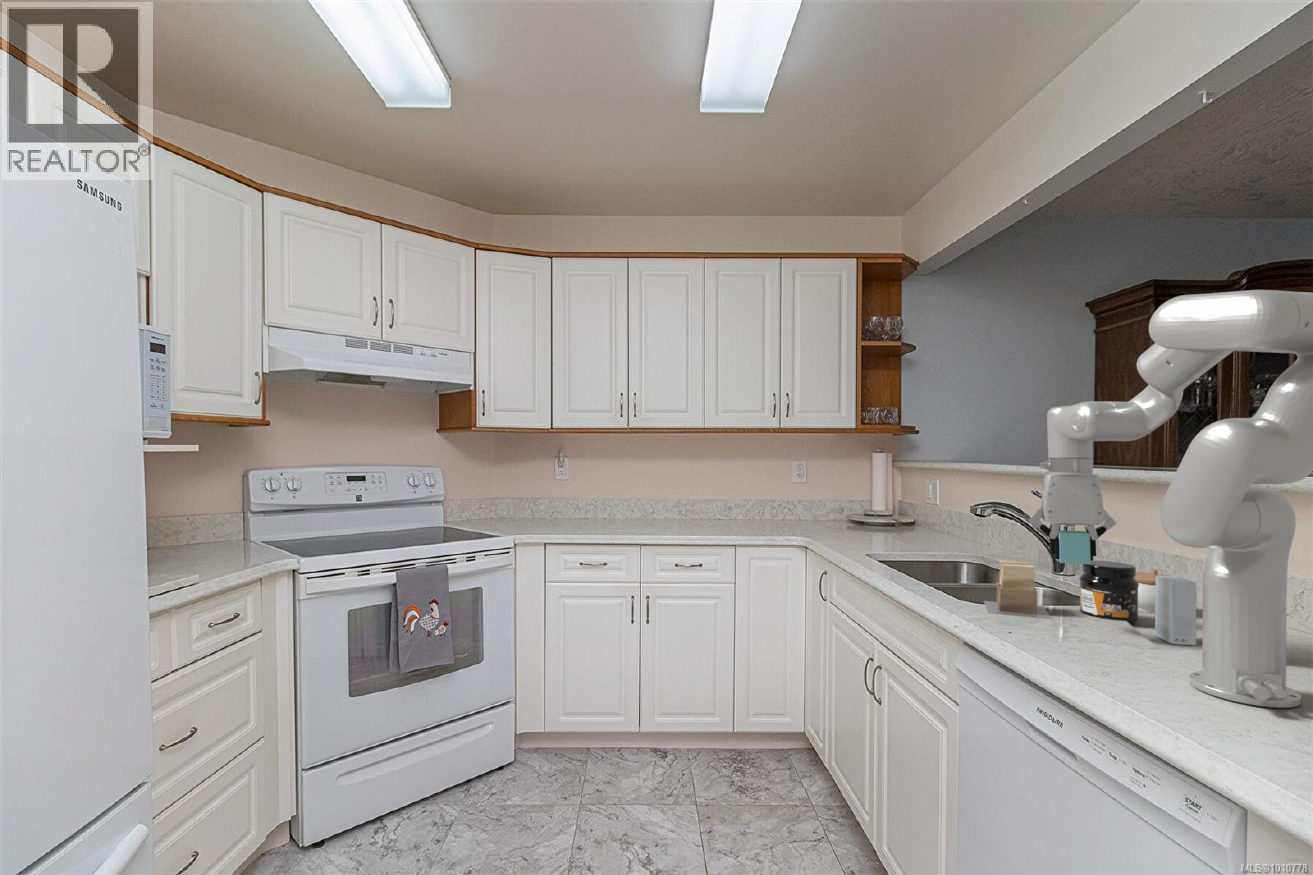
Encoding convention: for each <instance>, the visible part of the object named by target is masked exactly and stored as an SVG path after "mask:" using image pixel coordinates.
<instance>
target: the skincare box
mask: <svg viewBox="0 0 1313 875" xmlns="http://www.w3.org/2000/svg"><path fill="white" fill-rule="evenodd" d="M1154 615H1155V617H1154V619H1155V621H1154V624H1155V625H1154V627H1155V628H1154V636H1156V637H1157V638H1159V639H1161V640H1163V641H1166V642H1168V643H1170V644H1171V645H1178V646H1180V645H1183V646H1196V645H1197V582H1196V581H1192V580H1189V579H1186V578H1184V577H1180V576H1173V575H1170V576H1158V575H1157V576H1156V593H1155V613H1154Z"/></svg>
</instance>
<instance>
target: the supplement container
mask: <svg viewBox="0 0 1313 875" xmlns="http://www.w3.org/2000/svg"><path fill="white" fill-rule="evenodd" d="M1081 565H1082V566H1081V570H1082V571H1083V573H1082V574H1081V575H1080V576H1079V612H1080V613H1081V614H1083V615H1086V616H1089V617H1093V618H1099V619H1103V620H1110V621H1119V622H1120V621H1125V622H1126V623H1127V624H1129V625H1131V626H1132V625H1134V624H1136V623H1138V621H1139V609H1138V587H1139V583H1138V582H1137V581H1136V579H1135V578H1134V577H1135V576H1136V572H1137V568H1136V566H1135V565H1132V564H1129V563H1126V562H1125V563H1124V562H1117V561H1109V560H1094V559H1093V561H1091V564H1081Z"/></svg>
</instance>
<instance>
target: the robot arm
mask: <svg viewBox="0 0 1313 875" xmlns="http://www.w3.org/2000/svg"><path fill="white" fill-rule="evenodd" d="M1148 334H1149V336H1150V338H1151V340H1152V341H1153V344H1152V345H1151V346H1150V347H1149V348H1148V349H1146V350H1145V351H1144V352H1143V353H1141V355H1139V357H1138V358H1137V360H1136V370H1137V372H1138V373H1139V376H1140V377H1141V378H1142V379H1143V381H1144V382H1145V383H1146V384H1147V386H1146V387H1145V388H1144V389H1143V390H1142V391H1140V393H1138V394H1137V395H1136V396H1134V397H1133V398H1132V399H1129V401H1111V400H1110V401H1106V400H1104V401H1101V400H1100V401H1096V400H1095V401H1094V400H1089V401H1082V402H1078V403H1076V404H1073V405H1062V406H1055V407H1052V408H1050V409H1049V410H1048V411H1047V414H1046V415H1047V416H1046V423H1047V424H1046V425H1047V427H1046V428H1047V456H1048V459H1047V460H1045V461H1041V462H1040V463H1039V466H1040V469H1042V470H1043V469H1044V470H1047V472H1048V474H1045V475H1044V477H1043V482H1042V483H1043V484H1042V492H1041V493H1042V494H1041V497H1042V498H1041V506H1040V507H1039V509H1037V511H1036V512H1035V513H1034V514H1033V515H1032V516H1031V518H1029V522H1030V523H1031V524H1032V525H1034V526H1035V527H1036V528H1038V529H1039V530H1040V531H1041V532H1042V533H1044V534H1045V535H1046V536H1047V537H1048V538H1049V554H1050V555H1052V556H1053V559H1055V560H1056V559H1060V550H1059V539H1058V536H1057V533H1058V530H1060V526H1061V525H1066V526H1067V525H1068V526H1083V528H1084V529H1085V532H1088V533H1090V560H1091V561H1093V560H1094V557H1097V541H1098V540H1099V538H1100V537H1101V536H1103V535H1104V534H1105V533H1106V532H1107V531H1109V530H1111V529H1112V528H1114V527H1115V526H1116V525H1117V522H1116V520H1114V519H1113V517H1111V516H1110V514H1109V513H1108V512H1107V511H1106V510H1105V508H1104V499H1103V492H1102V486H1101V481H1100V478H1099V475H1098V474H1094V468H1093V463H1094V462H1093V442H1108V441H1109V442H1110V441H1111V442H1113V441H1114V442H1131V441H1137V440H1138V439H1142V438H1144V437H1146V436H1148V435H1149V434H1151V433H1152V432H1153V431H1155V430H1156V429H1158V428H1160V426H1162V425H1163V424H1165V423H1166V422H1168V420H1170V419H1171V418H1172V417H1173V416H1174V415H1175V413H1176V412H1177V411H1178V408H1179V407H1180V404H1181V402H1182V399H1183V395H1184V390H1185V389H1186V388H1187V387H1188V386H1189V385H1191V384H1192V383H1193V382H1194V381H1196V380H1197V379H1199V378H1201V376H1203V375H1204V374H1205V373H1207V371H1209V370H1210V369H1212V368H1214V366H1216V365H1217V364H1219V362H1221V361H1222V360H1224V359H1225V358H1226V357H1227V356H1229V355H1230V354H1232V353H1233V352H1253V353H1255V352H1257V353H1274V354H1276V353H1278V354H1295V355H1296V356H1297V359H1296V360H1295V361H1294V362H1293V364H1292V365H1291V366H1289V367H1288V368H1286V369H1285V370H1284V371H1283V372H1282V373H1281V374H1280V375H1279V376H1278V377H1277V378H1276V379H1275V381H1274V382H1273V383H1272V384H1271V386H1270V388H1269V389H1268V391H1267V394H1266V396H1264V397H1265V398H1264V400H1263V401H1262V403H1261V405H1260V406H1259V408H1258V409H1257V411H1256V412H1255V414H1254V415H1252V417H1246V418H1245V417H1231V418H1230V417H1229V418H1224V419H1221V420H1217V421H1215V422H1212V423H1210V424H1208V425H1207V426H1204V428H1203V429H1201V430H1200V431H1199V432H1198V433H1197V434H1196V435H1195V436H1194V437H1193V439H1191V442H1190V443H1189V445H1188V447H1187V449H1186V451H1185V454H1184V455H1183V457H1182V460H1181V462H1180V463H1179V466H1178V467H1177V470H1176V472H1175V474H1174V476H1173V478H1172V480H1171V482H1170V485H1169V487H1168V488H1167V491H1166V493H1165V495H1164V498H1163V500H1162V503H1161V507H1160V508H1161V509H1160V521H1161V525H1162V528H1163V530H1164V531H1165V533H1166V534H1167V535H1168V536H1169V537H1170V538H1171V540H1173V541H1174V542H1176V543H1178V544H1181V545H1183V546H1186V547H1189V548H1195V549H1196V548H1197V549H1210V550H1209V551H1208V553H1207V556H1206V559H1205V562H1204V566H1203V571H1202V670H1198V671H1193V672H1191V673H1190V674H1189V683H1190V684H1191V685H1192V686H1193V687H1194V688H1196V689H1198V690H1199V691H1201V692H1204V693H1206V694H1209V695H1211V696H1215V697H1216V698H1217V697H1218V698H1220V699H1225V700H1228V701H1233V702H1235V703H1241V704H1245V705H1252V706H1256V707H1263V708H1265V707H1266V708H1275V709H1277V708H1278V709H1290V708H1296V707H1298V706H1300V705H1301V704H1302V695H1301V694H1300V693H1299V692H1297V691H1296V690H1294V689H1293V688H1291V687H1289V686H1287V598H1288V597H1287V595H1288V568H1289V567H1288V565H1289V558H1290V552H1291V549H1292V548H1291V547H1292V544H1293V541H1294V536H1295V532H1296V526H1297V524H1296V522H1297V521H1296V520H1297V518H1296V513H1295V509H1294V508H1293V506H1292V504H1291V502H1290V501H1289V500H1288V499H1287V498H1286V497H1285V496H1284V495H1282V493H1280V492H1278V491H1277V490H1274V489H1272V488H1269V487H1267V486H1262V485H1284V484H1292V483H1297V482H1300V481H1303V480H1304V479H1306V478H1307V477H1308V476H1310V475H1311V473H1312V472H1313V292H1308V291H1306V292H1305V291H1290V290H1289V291H1288V290H1278V289H1277V290H1274V289H1273V290H1271V289H1250V290H1249V289H1248V290H1236V291H1225V292H1224V291H1223V292H1212V293H1198V294H1197V293H1195V294H1183V295H1182V294H1181V295H1178V296H1174V297H1172V298H1171V299H1168V300H1166V301H1165V302H1164V303H1162V304H1161V305H1160V306H1158V308H1157V309H1156V310H1155V311H1154V312H1153V314H1152V316H1150V320H1149V324H1148ZM1041 519H1042V520H1043V521H1044V522H1047V523H1049V527H1048V526H1047V525H1046V524H1044V523H1043V522H1042V521H1041ZM1095 526H1097V527H1095Z"/></svg>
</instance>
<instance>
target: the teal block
mask: <svg viewBox="0 0 1313 875" xmlns="http://www.w3.org/2000/svg"><path fill="white" fill-rule="evenodd" d="M1057 536H1058V539H1059V550H1060V559H1055V561H1057V562H1059V563H1060V564H1074V565H1076V564H1078V565H1082V564H1091V560H1090V533H1088V532H1086V530H1085V531H1084V530H1064V529H1063V530H1062V529H1061V530H1060V529H1059V530H1058V533H1057Z"/></svg>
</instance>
